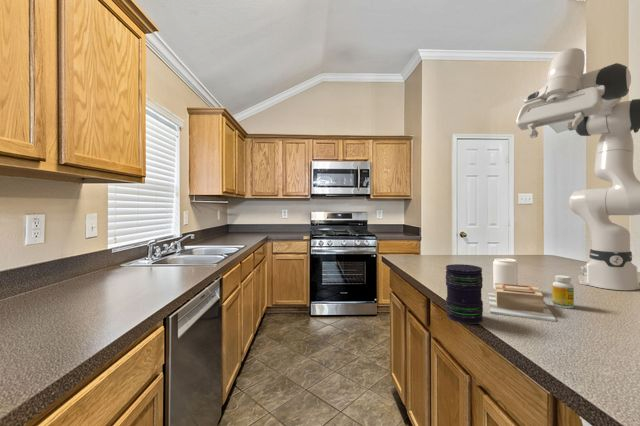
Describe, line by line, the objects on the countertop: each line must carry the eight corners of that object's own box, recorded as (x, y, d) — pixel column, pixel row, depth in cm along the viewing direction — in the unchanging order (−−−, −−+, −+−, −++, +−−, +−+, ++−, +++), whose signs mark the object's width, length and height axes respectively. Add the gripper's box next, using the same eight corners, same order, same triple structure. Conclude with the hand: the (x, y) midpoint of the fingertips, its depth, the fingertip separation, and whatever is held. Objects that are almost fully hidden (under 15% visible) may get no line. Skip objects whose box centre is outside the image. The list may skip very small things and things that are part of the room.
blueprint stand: (488, 294, 112) (488, 278, 112) (541, 299, 104) (541, 282, 104) (490, 313, 92) (490, 293, 92) (555, 321, 85) (555, 300, 85)
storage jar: (446, 321, 87) (446, 269, 86) (445, 310, 96) (444, 263, 96) (486, 325, 83) (485, 271, 83) (480, 313, 92) (479, 265, 92)
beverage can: (494, 287, 122) (494, 257, 122) (518, 289, 117) (518, 259, 117) (492, 291, 115) (491, 260, 115) (517, 295, 111) (517, 262, 110)
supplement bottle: (556, 302, 101) (556, 273, 101) (576, 306, 97) (576, 276, 97) (549, 305, 98) (549, 276, 98) (570, 309, 94) (569, 279, 94)
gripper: (609, 89, 84) (602, 130, 80) (527, 111, 101) (518, 145, 98) (602, 74, 81) (594, 116, 77) (518, 99, 98) (509, 134, 95)
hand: (551, 133), depth 88 cm, fingers open, 8 cm apart
